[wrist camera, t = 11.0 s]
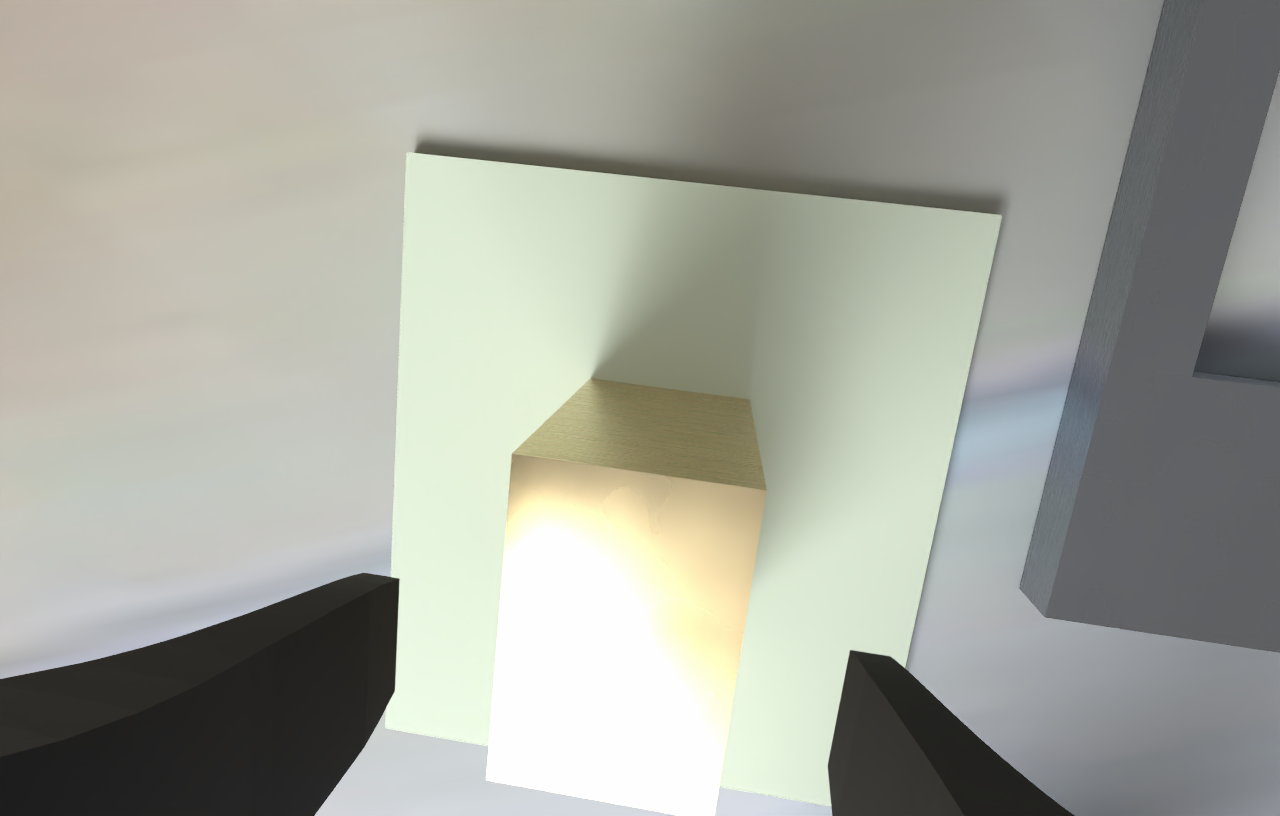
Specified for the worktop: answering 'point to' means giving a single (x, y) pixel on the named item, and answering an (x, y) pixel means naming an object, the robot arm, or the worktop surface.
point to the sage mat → (690, 361)
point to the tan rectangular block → (626, 596)
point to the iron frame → (1171, 368)
